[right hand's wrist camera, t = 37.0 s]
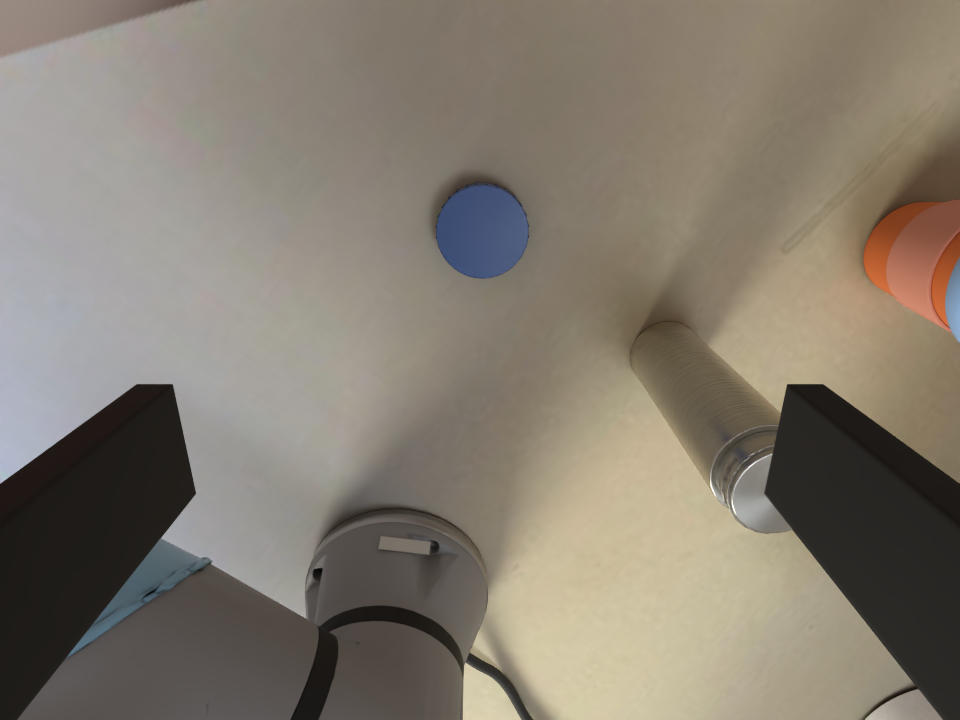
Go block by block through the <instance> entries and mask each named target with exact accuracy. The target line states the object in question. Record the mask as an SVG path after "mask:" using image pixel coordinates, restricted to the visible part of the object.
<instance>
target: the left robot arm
mask: <svg viewBox="0 0 960 720" xmlns="http://www.w3.org/2000/svg"><path fill="white" fill-rule="evenodd" d="M865 720H943V719H942V718H941V717H940V716H939V714H938V713H937V712H936V711H935V709H934V708H933V707H932V706H931V704H930V703H929V702H928V700H927V699H926V698H925V697H924V695H923V694H922V693H921V692H920V690H919V689H916V690H913V691H910V692H907V693H905V694H902V695H900V696H897V697H895V698H893V699H891V700H890V701H888V702H886V703H884V704H883V705H881V706H880V707H878V708H877V709H876V710H875V711H873V712H872V713H871V714H870V715H869V716H868V717H867V718H866V719H865Z"/></svg>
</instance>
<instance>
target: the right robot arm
mask: <svg viewBox="0 0 960 720" xmlns="http://www.w3.org/2000/svg"><path fill="white" fill-rule="evenodd" d="M195 494H196V491H195V487H194V482H193V477H192V473H191V468H190V463H189V458H188V454H187V449H186V444H185V440H184V435H183V430H182V426H181V421H180V416H179V412H178V407H177V402H176V397H175V393H174V388H173V384H137V385H135V386H134V387H133V388H131V389H130V390H128V391H127V392H126V393H124V394H123V395H122V396H120V397H119V398H117V399H116V400H115V401H113V402H112V403H111V404H109V405H108V406H106V407H105V408H104V409H102V410H101V411H100V412H98V413H97V414H95V415H94V416H93V417H91V418H90V419H89V420H87V421H86V422H85V423H83V424H82V425H80V426H79V427H78V428H76V429H75V430H74V431H72V432H71V433H69V434H68V435H67V436H65V437H64V438H63V439H61V440H60V441H58V442H57V443H56V444H54V445H53V446H52V447H50V448H49V449H47V450H46V451H45V452H43V453H42V454H41V455H39V456H38V457H36V458H35V459H34V460H32V461H31V462H30V463H28V464H27V465H26V466H24V467H23V468H21V469H20V470H19V471H17V472H16V473H15V474H13V475H12V476H10V477H9V478H8V479H6V480H5V481H4V482H2V483H1V484H0V720H463V675H464V665H465V662H466V663H467V664H469V665H470V666H472V667H474V668H475V669H477V670H479V671H481V672H483V673H485V674H487V675H489V676H490V677H492V678H493V679H494V680H495V681H497V682H498V684H499V685H500V686H501V687H502V688H503V689H504V691H505V692H506V693H507V695H508V697H509V698H510V700H511V702H512V703H513V705H514V707H515V709H516V711H517V712H518V714H519V716H520V718H521V719H522V720H533V719H532V717H531V716H530V715H529V713H528V712H527V710H526V708H525V707H524V705H523V703H522V701H521V699H520V698H519V696H518V694H517V692H516V690H515V689H514V687H513V686H512V684H511V683H510V681H509V680H508V679H507V678H506V677H505V676H504V674H503V673H502V672H501V671H499V670H498V669H497V668H495V667H494V666H492V665H490V664H488V663H486V662H484V661H482V660H481V659H479V658H477V657H476V656H474V655H473V654H471V653H470V650H471V648H472V645H473V643H474V640H475V638H476V635H477V633H478V630H479V628H480V626H481V623H482V621H483V618H484V615H485V612H486V608H487V601H488V582H487V572H486V568H485V565H484V562H483V559H482V557H481V555H480V553H479V552H478V550H477V548H476V547H475V546H474V544H473V543H472V542H471V541H470V540H469V539H468V538H467V537H466V536H465V535H464V534H463V533H462V532H461V531H459V530H458V529H457V528H455V527H454V526H452V525H451V524H449V523H447V522H445V521H443V520H441V519H439V518H437V517H434V516H432V515H429V514H425V513H422V512H417V511H412V510H404V509H385V510H377V511H372V512H367V513H364V514H361V515H358V516H356V517H353V518H351V519H349V520H347V521H345V522H343V523H342V524H340V525H339V526H337V527H336V528H335V529H334V530H332V531H331V532H330V533H329V534H328V535H327V536H326V537H325V538H324V540H323V541H322V542H321V544H320V545H319V547H318V549H317V551H316V553H315V555H314V557H313V560H312V563H311V565H310V568H309V570H308V574H307V578H306V586H305V604H306V619H305V618H304V617H302V616H300V615H298V614H297V613H295V612H293V611H291V610H290V609H288V608H286V607H284V606H283V605H281V604H279V603H277V602H276V601H274V600H272V599H271V598H269V597H267V596H265V595H264V594H262V593H260V592H258V591H257V590H255V589H253V588H251V587H250V586H248V585H246V584H244V583H243V582H241V581H239V580H237V579H236V578H234V577H232V576H230V575H229V574H227V573H225V572H224V571H222V570H220V569H218V568H217V567H215V566H213V565H211V563H212V562H213V561H212V560H210V559H209V558H207V557H203V558H199V557H197V556H195V555H193V554H190V553H188V552H186V551H184V550H182V549H180V548H178V547H176V546H174V545H173V544H171V543H169V542H167V541H165V540H163V539H161V537H162V536H163V535H164V533H165V532H166V531H167V530H168V528H169V527H170V526H171V525H172V523H173V522H174V521H175V519H176V518H177V517H178V516H179V514H180V513H181V512H182V511H183V509H184V508H185V507H186V506H187V504H188V503H189V502H190V501H191V499H192V498H193V497H194V495H195ZM764 494H765V495H766V497H767V498H768V499H769V501H770V502H771V503H772V504H773V506H774V507H775V508H776V509H777V511H778V512H779V513H780V514H781V516H782V517H783V518H784V519H785V521H786V522H787V523H788V525H789V526H790V527H791V528H792V530H793V531H794V532H795V533H796V535H797V536H798V537H799V538H800V540H801V541H802V542H803V544H804V545H805V546H806V547H807V549H808V550H809V551H810V552H811V554H812V555H813V556H814V557H815V559H816V560H817V561H818V563H819V564H820V565H821V566H822V568H823V569H824V570H825V571H826V573H827V574H828V575H829V576H830V578H831V579H832V580H833V581H834V583H835V584H836V585H837V587H838V588H839V589H840V590H841V592H842V593H843V594H844V595H845V597H846V598H847V599H848V600H849V602H850V603H851V604H852V606H853V607H854V608H855V609H856V611H857V612H858V613H859V614H860V616H861V617H862V618H863V619H864V621H865V622H866V623H867V625H868V626H869V627H870V628H871V630H872V631H873V632H874V633H875V635H876V636H877V637H878V638H879V640H880V641H881V642H882V643H883V645H884V646H885V647H886V649H887V650H888V651H889V652H890V654H891V655H892V656H893V657H894V659H895V660H896V661H897V662H898V664H899V665H900V666H901V668H902V669H903V670H904V671H905V673H906V674H907V675H908V676H909V678H910V679H911V680H912V681H913V683H914V684H915V685H916V687H917V688H918V689H919V690H920V692H921V693H922V694H923V695H924V697H925V698H926V699H927V700H928V702H929V703H930V704H931V706H932V707H933V708H934V709H935V711H936V712H937V713H938V714H939V716H940V717H941V718H942V719H943V720H960V484H959V483H958V482H956V481H955V480H954V479H952V478H951V477H950V476H948V475H947V474H945V473H944V472H943V471H941V470H940V469H939V468H937V467H936V466H934V465H933V464H932V463H930V462H929V461H928V460H926V459H925V458H924V457H922V456H921V455H919V454H918V453H917V452H915V451H914V450H913V449H911V448H910V447H908V446H907V445H906V444H904V443H903V442H902V441H900V440H899V439H897V438H896V437H895V436H893V435H892V434H891V433H889V432H888V431H886V430H885V429H884V428H882V427H881V426H880V425H878V424H877V423H875V422H874V421H873V420H871V419H870V418H869V417H867V416H866V415H865V414H863V413H862V412H860V411H859V410H858V409H856V408H855V407H854V406H852V405H851V404H849V403H848V402H847V401H845V400H844V399H843V398H841V397H840V396H838V395H837V394H836V393H834V392H833V391H832V390H830V389H829V388H827V387H826V386H825V385H823V384H787V388H786V393H785V397H784V402H783V407H782V412H781V416H780V421H779V426H778V430H777V435H776V440H775V444H774V449H773V454H772V458H771V463H770V468H769V473H768V477H767V482H766V487H765V491H764Z"/></svg>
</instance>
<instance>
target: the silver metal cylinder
mask: <svg viewBox="0 0 960 720" xmlns="http://www.w3.org/2000/svg"><path fill="white" fill-rule="evenodd" d="M630 360H631V366H632V368H633V370H634V372H635V374H636V375H637V377H638V378H639V380H640V381H641V383H642V385H643V386H644V388H645V389H646V391H647V392H648V394H649V395H650V397H651V398H652V400H653V401H654V403H655V405H656V406H657V408H658V409H659V411H660V412H661V414H662V415H663V417H664V418H665V420H666V421H667V423H668V425H669V426H670V428H671V429H672V431H673V432H674V434H675V435H676V437H677V438H678V440H679V442H680V443H681V445H682V446H683V448H684V449H685V451H686V452H687V454H688V455H689V457H690V458H691V460H692V462H693V463H694V465H695V466H696V468H697V469H698V471H699V472H700V474H701V475H702V477H703V478H704V480H705V482H706V483H707V485H708V486H709V488H710V489H711V491H712V492H713V494H714V495H715V497H716V498H717V499H718V501H719V502H720V503H721V504H723V505H724V506H725V507H727V508H728V509H729V510H730V512H731V513H732V515H733V516H734V518H735V519H736V520H737V521H738V522H739V523H740V524H742V525H743V526H744V527H745V528H748V529H751V530H753V531H755V532H758V533H766V534H769V533H780V532H785V531H790V530H792V528H791V527H790V526H789V525H788V523H787V522H786V521H785V519H784V518H783V517H782V516H781V514H780V513H779V512H778V511H777V509H776V508H775V507H774V506H773V504H772V503H771V502H770V501H769V499H768V498H767V497H766V495H765V494H764V491H765V487H766V482H767V477H768V473H769V468H770V463H771V458H772V454H773V449H774V444H775V440H776V435H777V430H778V426H779V421H780V416H781V413H780V412H779V411H778V410H777V409H776V408H775V407H774V406H773V405H772V404H770V403H769V402H768V401H767V400H766V399H765V398H764V397H763V396H762V395H761V394H760V393H759V392H758V391H756V390H755V389H754V388H753V387H752V386H751V385H750V384H749V383H748V382H747V381H746V380H745V379H743V378H742V377H741V376H740V375H739V374H738V373H737V372H736V371H735V370H734V369H733V368H732V367H731V366H729V365H728V364H727V363H726V362H725V361H724V360H723V359H722V358H721V357H720V356H719V355H718V354H717V353H715V352H714V351H713V350H712V349H711V348H710V347H709V346H708V345H707V344H706V343H705V342H704V341H702V340H701V339H700V338H699V337H698V336H697V335H696V334H695V333H694V332H693V331H692V330H691V329H689V328H688V327H687V326H685V325H683V324H680V323H677V322H661V323H657V324H654V325H652V326H650V327H648V328H647V329H645V330H644V331H643V332H642V333H641V334H640V335H639V336H638V337H637V339H636V340H635V342H634V344H633V346H632V349H631V355H630Z"/></svg>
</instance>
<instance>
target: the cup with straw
mask: <svg viewBox="0 0 960 720" xmlns="http://www.w3.org/2000/svg"><path fill="white" fill-rule="evenodd" d="M864 267H865V271H866V273H867V275H868V277H869V279H870V280H871V281H872V282H873V283H874V284H875V285H876V286H877V287H879V288H880V289H882V290H884V291H885V292H887V293H889V294H891V295H892V296H894V297H895V298H896V299H897V300H898V301H899V302H900V303H901V304H903V305H904V306H905V307H907V308H909V309H911V310H912V311H914V312H916V313H918V314H919V315H921V316H923V317H925V318H926V319H928V320H930V321H932V322H933V323H935V324H937V325H939V326H940V327H942V328H944V329H946V330H947V331H949V332H951V333H953V335H954V337H955V338H956V339H957V341H958V342H959V343H960V199H959V200H951V201H946V202H917V203H912V204H908V205H905V206H903V207H900V208H898V209H896V210H894V211H893V212H891V213H890V214H888V215H887V216H886V217H885V218H883V219H882V220H881V221H880V222H879V224H878V225H877V226H876V227H875V228H874V230H873V231H872V233H871V235H870V237H869V238H868V241H867V243H866V246H865V251H864Z"/></svg>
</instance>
